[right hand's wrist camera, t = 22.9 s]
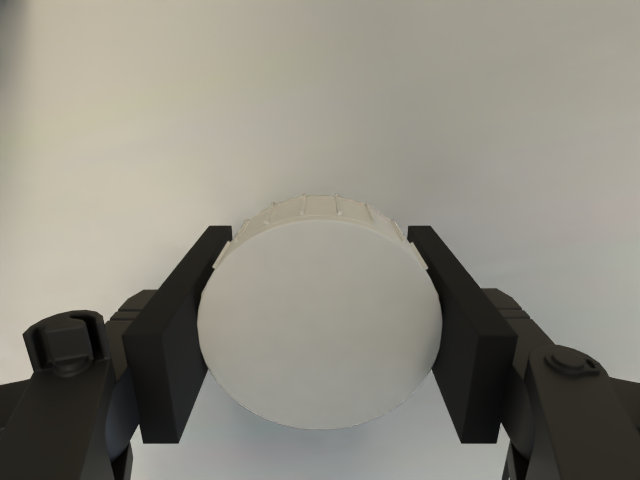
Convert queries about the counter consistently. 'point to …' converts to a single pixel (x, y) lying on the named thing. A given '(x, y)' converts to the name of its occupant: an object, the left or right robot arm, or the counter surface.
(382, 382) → the lid
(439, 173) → the counter surface
